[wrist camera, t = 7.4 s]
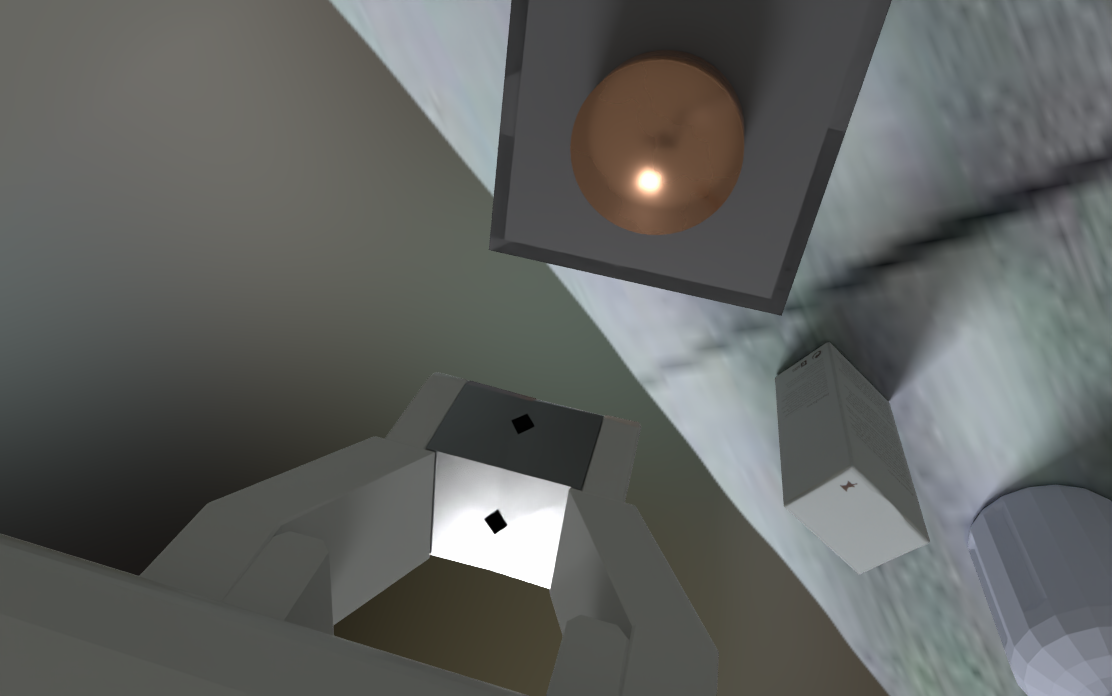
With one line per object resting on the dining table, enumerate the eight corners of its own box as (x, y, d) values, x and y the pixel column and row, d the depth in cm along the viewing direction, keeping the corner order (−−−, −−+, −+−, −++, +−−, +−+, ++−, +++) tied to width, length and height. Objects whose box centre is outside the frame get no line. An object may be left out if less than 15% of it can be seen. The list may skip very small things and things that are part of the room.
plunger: (611, -50, 34) (529, -38, 21) (815, -17, 32) (858, 18, 20) (580, 149, 39) (499, 255, 26) (755, 184, 38) (760, 314, 25)
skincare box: (771, 377, 45) (779, 505, 35) (828, 338, 43) (853, 463, 33) (834, 437, 46) (858, 579, 36) (892, 403, 44) (935, 543, 34)
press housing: (596, -83, 35) (519, -90, 23) (846, -43, 33) (901, -28, 21) (562, 158, 41) (489, 249, 29) (771, 200, 39) (781, 315, 28)
